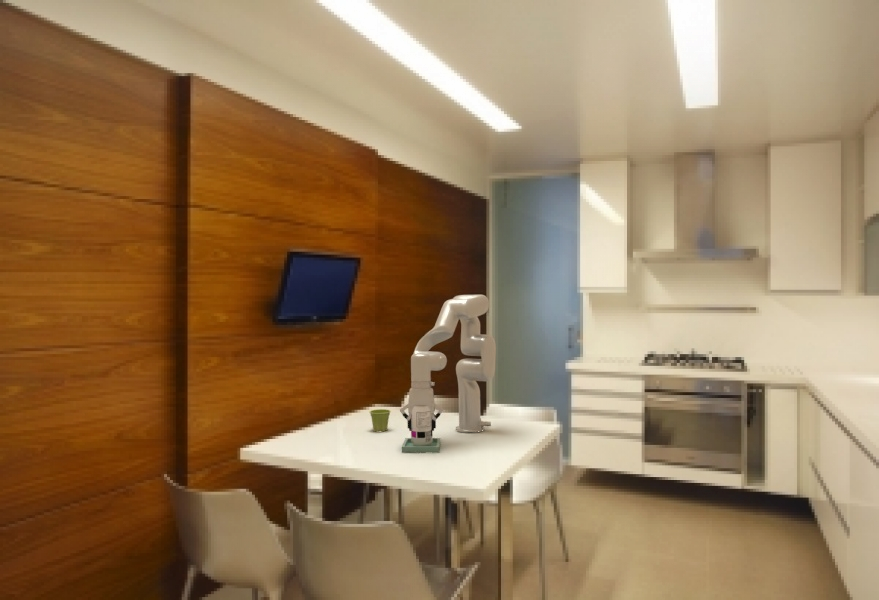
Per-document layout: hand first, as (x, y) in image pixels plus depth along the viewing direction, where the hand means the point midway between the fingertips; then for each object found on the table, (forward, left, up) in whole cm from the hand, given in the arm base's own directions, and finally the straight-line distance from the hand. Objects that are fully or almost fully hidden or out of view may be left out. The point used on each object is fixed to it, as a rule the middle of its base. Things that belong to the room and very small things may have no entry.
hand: (421, 430), depth 210 cm
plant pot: (+21, -31, -7) cm, 38 cm away
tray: (0, 0, -7) cm, 7 cm away
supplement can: (0, 0, -5) cm, 5 cm away
